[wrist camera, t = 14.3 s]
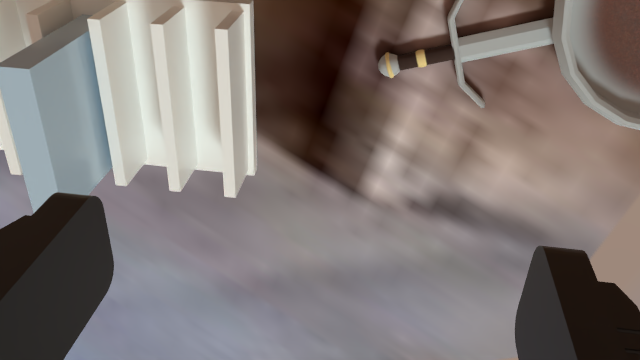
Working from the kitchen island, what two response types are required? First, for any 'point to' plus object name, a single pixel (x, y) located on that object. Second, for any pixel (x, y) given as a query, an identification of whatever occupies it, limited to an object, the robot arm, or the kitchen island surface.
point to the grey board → (57, 113)
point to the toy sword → (559, 53)
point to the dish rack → (158, 81)
